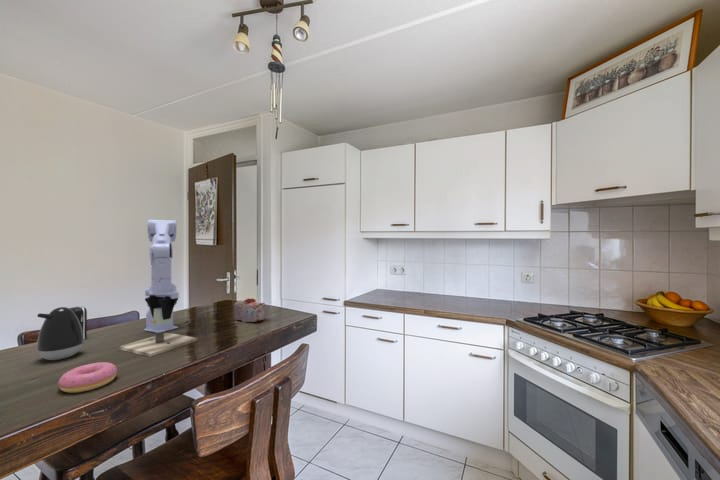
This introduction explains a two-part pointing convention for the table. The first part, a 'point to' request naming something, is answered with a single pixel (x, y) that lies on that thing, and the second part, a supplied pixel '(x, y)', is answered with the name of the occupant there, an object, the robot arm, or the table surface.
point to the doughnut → (87, 377)
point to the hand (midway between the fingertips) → (161, 318)
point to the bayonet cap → (159, 317)
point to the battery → (81, 318)
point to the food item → (249, 310)
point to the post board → (157, 344)
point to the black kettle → (59, 334)
